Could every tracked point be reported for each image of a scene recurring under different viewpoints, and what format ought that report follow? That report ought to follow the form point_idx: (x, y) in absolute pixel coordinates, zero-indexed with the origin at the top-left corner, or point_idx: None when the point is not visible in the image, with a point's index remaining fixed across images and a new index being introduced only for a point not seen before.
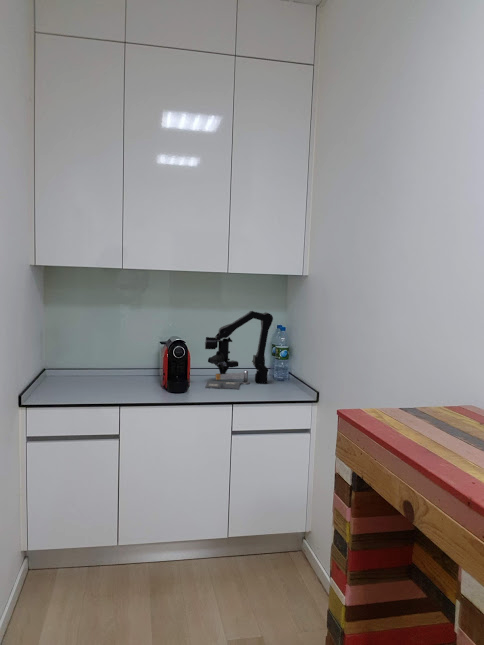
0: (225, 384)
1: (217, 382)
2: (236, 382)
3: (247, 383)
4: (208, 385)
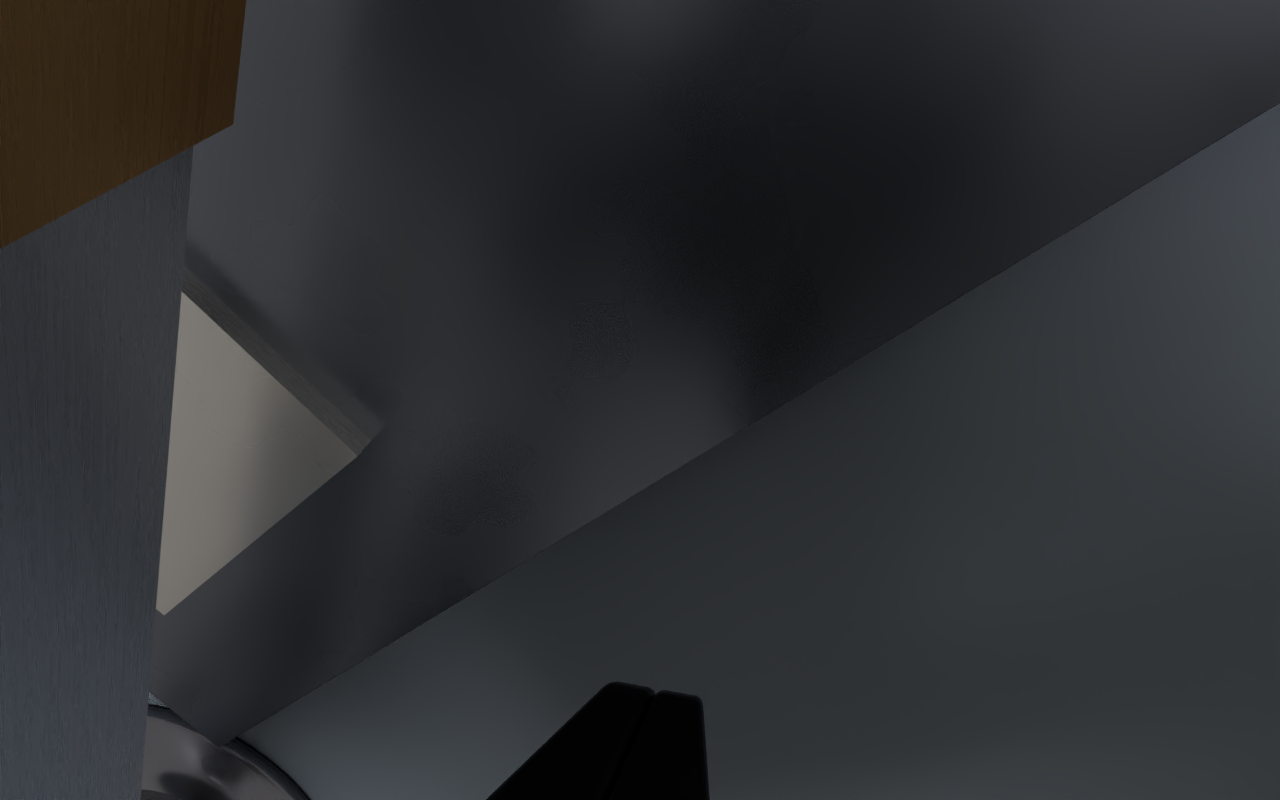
0: None
1: (632, 128)
2: (242, 680)
3: None
4: None
